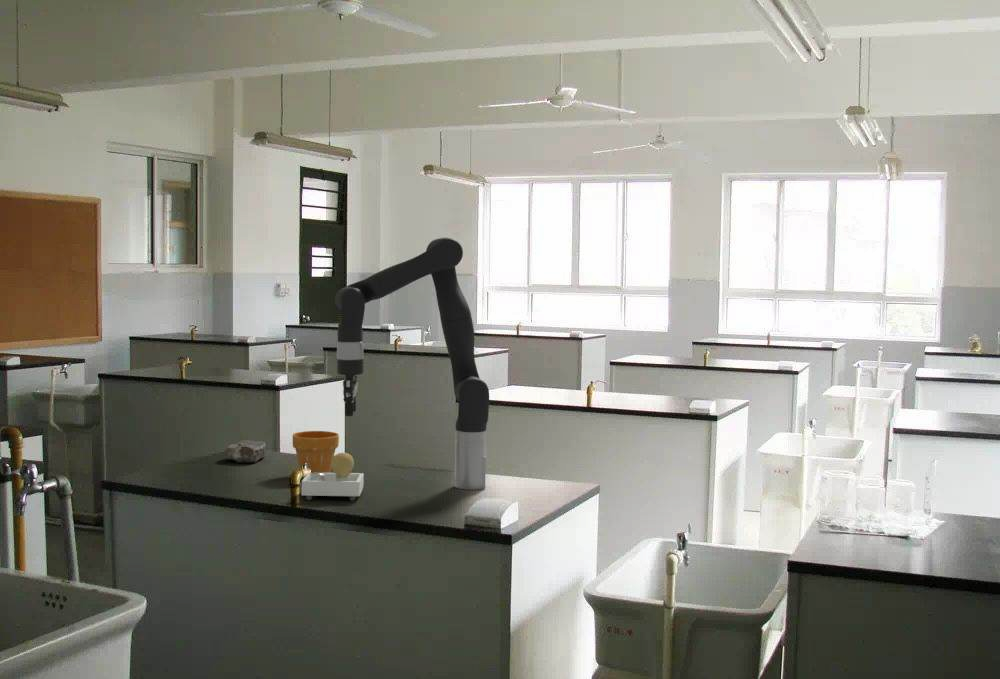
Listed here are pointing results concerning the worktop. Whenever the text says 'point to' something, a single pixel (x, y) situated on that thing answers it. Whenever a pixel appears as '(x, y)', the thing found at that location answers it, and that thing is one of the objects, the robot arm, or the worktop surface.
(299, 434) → the flower pot
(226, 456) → the rock
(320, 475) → the grey rounded piece
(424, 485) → the worktop surface
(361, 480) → the tray
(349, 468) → the amber frosted bulb
